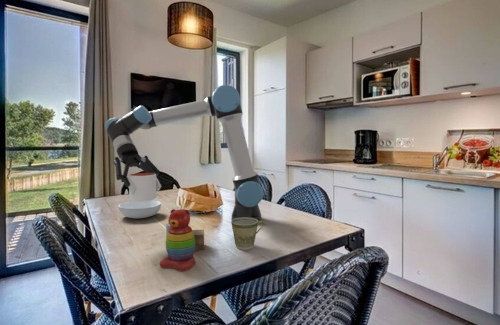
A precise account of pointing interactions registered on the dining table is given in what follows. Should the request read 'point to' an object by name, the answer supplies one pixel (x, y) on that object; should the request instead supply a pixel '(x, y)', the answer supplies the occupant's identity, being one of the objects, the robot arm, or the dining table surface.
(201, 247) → the walnut block
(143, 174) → the cup
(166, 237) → the grey rounded cylinder
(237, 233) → the ceramic cup
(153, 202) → the serving bowl
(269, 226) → the dining table surface
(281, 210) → the dining table surface
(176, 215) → the stacking bear
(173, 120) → the robot arm
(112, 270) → the dining table surface
